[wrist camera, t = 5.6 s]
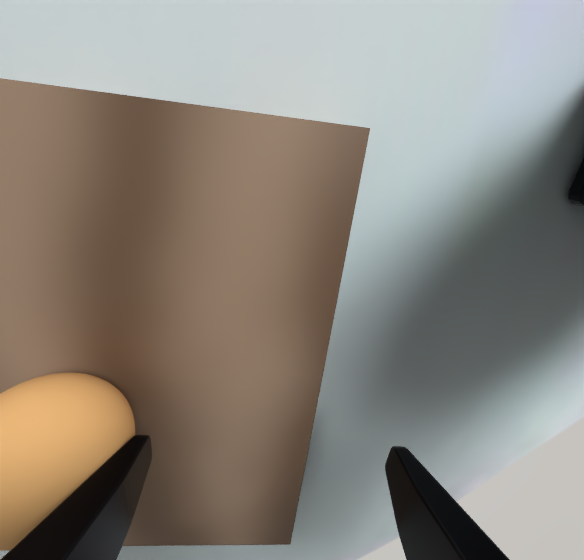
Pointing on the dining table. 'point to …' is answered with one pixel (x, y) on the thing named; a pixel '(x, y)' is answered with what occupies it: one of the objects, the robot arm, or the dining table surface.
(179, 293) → the pocket board
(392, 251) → the dining table surface
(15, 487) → the ball
